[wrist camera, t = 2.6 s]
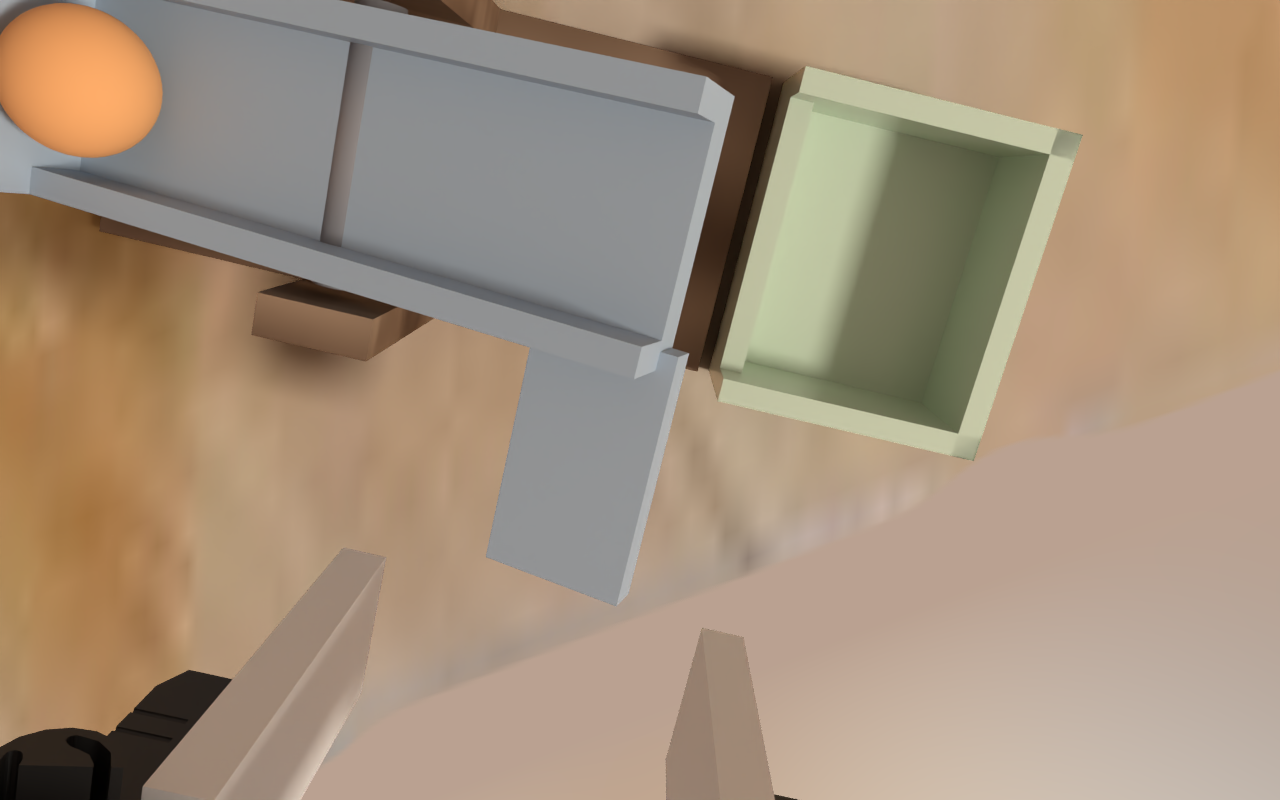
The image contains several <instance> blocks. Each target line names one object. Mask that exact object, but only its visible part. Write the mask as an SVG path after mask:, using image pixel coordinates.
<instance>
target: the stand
mask: <svg viewBox="0 0 1280 800" xmlns="http://www.w3.org/2000/svg"><path fill="white" fill-rule="evenodd" d="M341 1H346V2H350V3H354V0H341ZM383 1H386V2H389V3H393V4H396V5H398V6H401V7H404V8H406V9H408V15H413V16H418V17H423V18H427V19H432V20H437V21H442V22H447V23H451V24H456V25H461V26H466V27H471V28H475V29H480V30H485V31H490V32H495V33H499V34H504V35H509V36H514V37H519V38H523V39H528V40H533V41H538V42H543V43H547V44H552V45H557V46H562V47H567V48H571V49H576V50H581V51H586V52H591V53H596V54H600V55H605V56H610V57H615V58H620V59H624V60H629V61H634V62H639V63H644V64H648V65H653V66H658V67H663V68H668V69H672V70H677V71H682V72H687V73H692V74H696V75H701V76H706V77H708V78H709V79H711V80H712V81H714V82H715V83H716V84H718V85H719V86H721V87H722V88H723V89H725V90H726V91H728V92H729V93H731V94H732V95H733V96H735V97H734V101H733V105H732V109H731V113H730V117H729V121H728V126H727V130H726V134H725V138H724V142H723V146H722V150H721V154H720V158H719V162H718V166H717V170H716V174H715V178H714V182H713V186H712V190H711V194H710V198H709V202H708V206H707V210H706V214H705V218H704V222H703V226H702V230H701V234H700V239H699V243H698V247H697V251H696V255H695V259H694V263H693V267H692V271H691V275H690V279H689V283H688V287H687V291H686V295H685V299H684V303H683V307H682V311H681V315H680V319H679V323H678V327H677V331H676V335H675V339H674V343H673V347H672V348H673V349H677V350H680V351H683V352H687V353H689V356H688V360H687V364H686V368H685V369H689V370H693V371H698V367H699V363H700V360H701V356H702V352H703V348H704V344H705V340H706V336H707V332H708V328H709V324H710V320H711V317H712V313H713V309H714V305H715V301H716V297H717V293H718V289H719V285H720V281H721V277H722V273H723V270H724V266H725V262H726V258H727V254H728V250H729V246H730V242H731V238H732V234H733V230H734V227H735V223H736V219H737V215H738V211H739V207H740V203H741V199H742V195H743V191H744V187H745V184H746V180H747V176H748V172H749V168H750V164H751V160H752V156H753V152H754V148H755V144H756V141H757V137H758V133H759V129H760V125H761V121H762V117H763V113H764V109H765V105H766V101H767V98H768V94H769V90H770V86H771V82H772V78H773V77H770V76H766V75H762V74H758V73H754V72H750V71H746V70H742V69H738V68H734V67H730V66H726V65H722V64H718V63H714V62H710V61H706V60H702V59H698V58H694V57H690V56H686V55H682V54H678V53H674V52H670V51H666V50H662V49H658V48H654V47H650V46H646V45H642V44H638V43H634V42H629V41H625V40H621V39H617V38H613V37H609V36H605V35H601V34H597V33H593V32H589V31H585V30H581V29H577V28H573V27H569V26H565V25H561V24H557V23H553V22H549V21H545V20H541V19H537V18H533V17H529V16H525V15H521V14H517V13H513V12H509V11H505V10H501V9H500V8H499V7H498V6H497V5H496V4H495V3H494V2H493V1H492V0H383ZM99 231H101V232H105V233H110V234H114V235H118V236H122V237H127V238H131V239H135V240H140V241H144V242H148V243H152V244H157V245H161V246H165V247H169V248H174V249H178V250H182V251H186V252H191V253H195V254H199V255H203V256H208V257H212V258H216V259H220V260H225V261H229V262H233V263H237V264H242V265H246V266H250V267H255V268H259V269H263V270H267V271H272V272H276V273H280V274H284V275H289V276H293V277H297V278H301V279H302V280H299V281H295V282H292V283H288V284H285V285H281V286H278V287H274V288H271V289H267V290H264V291H260V292H257V299H256V306H255V313H254V320H253V328H252V335H255V336H259V337H263V338H268V339H272V340H276V341H280V342H285V343H289V344H293V345H298V346H302V347H306V348H311V349H315V350H319V351H324V352H328V353H332V354H337V355H341V356H345V357H349V358H354V359H358V360H362V361H367V360H369V359H370V358H372V357H374V356H375V355H377V354H378V353H380V352H381V351H383V350H385V349H386V348H388V347H389V346H391V345H393V344H394V343H396V342H397V341H399V340H400V339H402V338H404V337H405V336H407V335H408V334H410V333H411V332H413V331H415V330H416V329H418V328H419V327H421V326H422V325H424V324H426V323H427V322H429V321H430V320H432V319H433V318H432V317H429V316H426V315H423V314H419V313H416V312H413V311H410V310H406V309H403V308H400V307H396V306H393V305H390V304H387V303H383V302H380V301H377V300H374V299H370V298H367V297H364V296H361V295H357V294H354V293H351V292H348V291H343V290H337V289H332V288H327V287H323V286H320V285H317V284H315V283H313V282H312V280H308V279H305V278H302V277H299V276H295V275H292V274H289V273H285V272H282V271H279V270H276V269H272V268H269V267H266V266H263V265H259V264H256V263H253V262H250V261H246V260H243V259H240V258H237V257H233V256H230V255H227V254H223V253H220V252H217V251H214V250H210V249H207V248H204V247H201V246H197V245H194V244H191V243H188V242H184V241H181V240H178V239H174V238H171V237H168V236H165V235H161V234H158V233H155V232H152V231H148V230H145V229H142V228H139V227H135V226H132V225H129V224H126V223H122V222H119V221H116V220H112V219H109V218H106V217H103V216H101V220H100V230H99Z"/></svg>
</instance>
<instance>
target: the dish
mask: <svg viewBox="0 0 1280 800" xmlns="http://www.w3.org/2000/svg"><path fill="white" fill-rule="evenodd" d="M1082 136H1083V135H1081V134H1077V133H1073V132H1069V131H1065V130H1061V129H1057V128H1053V127H1049V126H1045V125H1041V124H1037V123H1033V122H1029V121H1025V120H1021V119H1017V118H1013V117H1009V116H1005V115H1001V114H997V113H993V112H989V111H985V110H981V109H977V108H973V107H969V106H965V105H961V104H957V103H953V102H949V101H945V100H940V99H936V98H932V97H928V96H924V95H920V94H916V93H912V92H908V91H904V90H900V89H896V88H892V87H888V86H884V85H880V84H876V83H872V82H868V81H864V80H860V79H856V78H852V77H848V76H844V75H840V74H836V73H832V72H828V71H824V70H820V69H816V68H812V67H808V66H805V67H804V68H802V69H801V70H800V71H798V72H797V73H796V74H794V75H793V76H792V77H790V78H789V79H788V80H786V81H785V82H784V83H783V86H782V90H781V93H780V97H779V101H778V105H777V109H776V113H775V117H774V121H773V124H772V128H771V132H770V136H769V140H768V144H767V148H766V151H765V155H764V159H763V163H762V167H761V171H760V175H759V179H758V182H757V186H756V190H755V194H754V198H753V202H752V206H751V209H750V213H749V217H748V221H747V225H746V229H745V233H744V237H743V240H742V244H741V248H740V252H739V256H738V260H737V264H736V267H735V271H734V275H733V279H732V283H731V287H730V291H729V295H728V298H727V302H726V306H725V310H724V314H723V318H722V322H721V325H720V329H719V333H718V337H717V341H716V345H715V349H714V353H713V356H712V360H711V364H710V368H709V372H710V376H711V379H712V383H713V386H714V390H715V393H716V397H717V400H718V401H719V402H723V403H728V404H732V405H736V406H741V407H745V408H749V409H753V410H758V411H762V412H766V413H770V414H775V415H779V416H783V417H788V418H792V419H796V420H800V421H805V422H809V423H813V424H818V425H822V426H826V427H830V428H835V429H839V430H843V431H847V432H852V433H856V434H860V435H865V436H869V437H873V438H877V439H882V440H886V441H890V442H895V443H899V444H903V445H907V446H912V447H916V448H920V449H924V450H929V451H933V452H937V453H942V454H946V455H950V456H954V457H959V458H963V459H967V460H972V461H974V458H975V455H976V452H977V449H978V446H979V443H980V440H981V437H982V434H983V431H984V428H985V426H986V423H987V420H988V417H989V414H990V411H991V408H992V405H993V402H994V399H995V396H996V393H997V390H998V387H999V384H1000V381H1001V378H1002V375H1003V372H1004V369H1005V366H1006V363H1007V360H1008V357H1009V354H1010V351H1011V348H1012V345H1013V342H1014V339H1015V336H1016V333H1017V330H1018V327H1019V324H1020V321H1021V318H1022V315H1023V312H1024V309H1025V306H1026V303H1027V300H1028V297H1029V294H1030V291H1031V288H1032V285H1033V282H1034V279H1035V276H1036V273H1037V270H1038V267H1039V264H1040V261H1041V258H1042V255H1043V252H1044V249H1045V246H1046V243H1047V240H1048V237H1049V234H1050V231H1051V228H1052V225H1053V222H1054V219H1055V216H1056V213H1057V210H1058V207H1059V204H1060V201H1061V198H1062V195H1063V192H1064V189H1065V186H1066V183H1067V180H1068V177H1069V174H1070V171H1071V168H1072V165H1073V162H1074V159H1075V156H1076V153H1077V150H1078V147H1079V144H1080V141H1081V138H1082Z"/></svg>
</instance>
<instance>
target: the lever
mask: <svg viewBox="0 0 1280 800" xmlns="http://www.w3.org/2000/svg"><path fill="white" fill-rule="evenodd" d="M53 3H73V4H79V5H85V6H89V7H92V8H95V9H98V10H100V11H103V12H105V13H107V14H109V15H111V16H113V17H115V18H116V19H118V20H119V21H121V22H122V23H124V24H125V25H126V26H128V27H129V28H130V29H131V30H132V31H133V32H134V33H136V34H137V35H138V37H139V38H140V39H141V40H142V41H143V42H144V44H145V45H146V46H147V48H148V49H149V51H150V52H151V54H152V56H153V58H154V60H155V62H156V65H157V67H158V70H159V73H160V76H161V81H162V90H163V96H162V105H161V110H160V113H159V116H158V118H157V121H156V122H155V124H154V126H153V127H152V129H151V131H150V132H149V133H148V134H147V136H146V137H144V138H143V139H142V140H141V141H140V142H139V143H137V144H136V145H135V146H133V147H132V148H130V149H128V150H125V151H123V152H121V153H118V154H115V155H111V156H106V157H99V158H84V157H77V156H71V155H66V154H63V153H60V152H57V151H54V150H52V149H50V148H48V147H46V146H44V145H42V144H40V143H38V142H36V141H35V140H34V139H32V138H31V137H29V136H28V135H27V134H26V133H24V132H23V131H22V130H21V129H20V128H19V127H18V126H17V125H16V124H15V123H14V122H13V121H12V119H11V118H10V117H9V116H8V114H7V113H6V111H5V110H4V108H3V107H2V105H1V103H0V192H5V193H21V194H31V195H34V196H37V197H41V198H44V199H47V200H50V201H54V202H57V203H60V204H63V205H67V206H70V207H73V208H77V209H80V210H83V211H86V212H90V213H93V214H96V215H99V216H103V217H106V218H109V219H112V220H116V221H119V222H122V223H126V224H129V225H132V226H135V227H139V228H142V229H145V230H148V231H152V232H155V233H158V234H161V235H165V236H168V237H171V238H174V239H178V240H181V241H184V242H188V243H191V244H194V245H197V246H201V247H204V248H207V249H210V250H214V251H217V252H220V253H223V254H227V255H230V256H233V257H237V258H240V259H243V260H246V261H250V262H253V263H256V264H259V265H263V266H266V267H269V268H272V269H276V270H279V271H282V272H285V273H289V274H292V275H295V276H299V277H302V278H305V279H308V280H312V282H313V283H315V284H317V285H320V286H323V287H327V288H332V289H337V290H343V291H348V292H351V293H354V294H357V295H361V296H364V297H367V298H370V299H374V300H377V301H380V302H383V303H387V304H390V305H393V306H396V307H400V308H403V309H406V310H410V311H413V312H416V313H419V314H423V315H426V316H429V317H432V318H436V319H439V320H442V321H445V322H449V323H452V324H455V325H459V326H462V327H465V328H468V329H472V330H475V331H478V332H481V333H485V334H488V335H491V336H494V337H498V338H501V339H504V340H507V341H511V342H514V343H517V344H521V345H524V346H527V347H530V350H529V355H528V360H527V364H526V369H525V374H524V379H523V383H522V388H521V393H520V398H519V402H518V407H517V412H516V416H515V421H514V426H513V431H512V435H511V440H510V445H509V450H508V454H507V459H506V464H505V469H504V473H503V478H502V483H501V487H500V492H499V497H498V502H497V506H496V511H495V516H494V521H493V525H492V530H491V535H490V540H489V544H488V549H487V554H486V557H487V558H490V559H492V560H495V561H498V562H500V563H503V564H506V565H508V566H511V567H514V568H516V569H519V570H522V571H524V572H527V573H529V574H532V575H535V576H537V577H540V578H543V579H545V580H548V581H551V582H553V583H556V584H558V585H561V586H564V587H566V588H569V589H572V590H574V591H577V592H580V593H582V594H585V595H588V596H590V597H593V598H595V599H598V600H601V601H603V602H606V603H609V604H611V605H614V606H617V605H618V604H619V603H620V602H621V601H622V600H623V599H624V598H625V597H626V596H627V595H628V593H629V590H630V586H631V582H632V578H633V574H634V570H635V566H636V562H637V558H638V554H639V550H640V546H641V542H642V538H643V534H644V530H645V526H646V522H647V518H648V514H649V510H650V506H651V502H652V498H653V494H654V490H655V486H656V483H657V479H658V475H659V471H660V467H661V463H662V459H663V455H664V451H665V447H666V443H667V439H668V435H669V431H670V427H671V423H672V419H673V415H674V411H675V407H676V403H677V399H678V395H679V391H680V387H681V383H682V380H683V376H684V372H685V368H686V364H687V360H688V356H689V353H687V352H683V351H680V350H677V349H673V348H672V347H673V343H674V339H675V335H676V331H677V327H678V323H679V319H680V315H681V311H682V307H683V303H684V299H685V295H686V291H687V287H688V283H689V279H690V275H691V271H692V267H693V263H694V259H695V255H696V251H697V247H698V243H699V239H700V234H701V230H702V226H703V222H704V218H705V214H706V210H707V206H708V202H709V198H710V194H711V190H712V186H713V182H714V178H715V174H716V170H717V166H718V162H719V158H720V154H721V150H722V146H723V142H724V138H725V134H726V130H727V126H728V121H729V117H730V113H731V109H732V105H733V101H734V97H735V96H733V95H732V94H731V93H729V92H728V91H726V90H725V89H723V88H722V87H721V86H719V85H718V84H716V83H715V82H714V81H712V80H711V79H709V78H708V77H706V76H701V75H696V74H692V73H687V72H682V71H677V70H672V69H668V68H663V67H658V66H653V65H648V64H644V63H639V62H634V61H629V60H624V59H620V58H615V57H610V56H605V55H600V54H596V53H591V52H586V51H581V50H576V49H571V48H567V47H562V46H557V45H552V44H547V43H543V42H538V41H533V40H528V39H523V38H519V37H514V36H509V35H504V34H499V33H495V32H490V31H485V30H480V29H475V28H471V27H466V26H461V25H456V24H451V23H447V22H442V21H437V20H432V19H427V18H423V17H418V16H413V15H408V9H406V8H404V7H401V6H398V5H396V4H393V3H389V2H386V1H383V0H354V3H350V2H346V1H341V0H0V35H1V33H2V32H3V30H4V29H5V28H6V26H7V25H8V24H9V23H10V22H11V21H13V20H14V19H15V18H16V17H18V16H19V15H20V14H22V13H24V12H26V11H28V10H30V9H32V8H35V7H38V6H42V5H47V4H53Z"/></svg>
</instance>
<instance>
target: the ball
mask: <svg viewBox="0 0 1280 800" xmlns="http://www.w3.org/2000/svg"><path fill="white" fill-rule="evenodd" d="M162 96H163V90H162V81H161V76H160V73H159V70H158V67H157V65H156V62H155V60H154V58H153V56H152V54H151V52H150V51H149V49H148V48H147V46H146V45H145V44H144V42H143V41H142V40H141V39H140V38H139V37H138V35H137V34H136V33H134V32H133V31H132V30H131V29H130V28H129V27H128V26H126V25H125V24H124V23H122V22H121V21H119V20H118V19H116V18H115V17H113V16H111V15H109V14H107V13H105V12H103V11H100V10H98V9H95V8H92V7H89V6H85V5H79V4H73V3H53V4H47V5H42V6H38V7H35V8H32V9H30V10H28V11H26V12H24V13H22V14H20V15H19V16H18V17H16V18H15V19H14V20H13V21H11V22H10V23H9V24H8V25H7V26H6V28H5V29H4V30H3V32H2V33H1V35H0V103H1V105H2V107H3V108H4V110H5V111H6V113H7V114H8V116H9V117H10V118H11V119H12V121H13V122H14V123H15V124H16V125H17V126H18V127H19V128H20V129H21V130H22V131H23V132H24V133H26V134H27V135H28V136H29V137H31V138H32V139H34V140H35V141H36V142H38V143H40V144H42V145H44V146H46V147H48V148H50V149H52V150H54V151H57V152H60V153H63V154H66V155H71V156H77V157H84V158H99V157H106V156H111V155H115V154H118V153H121V152H123V151H125V150H128V149H130V148H132V147H133V146H135V145H136V144H137V143H139V142H140V141H141V140H142V139H143V138H144V137H146V136H147V134H148V133H149V132H150V131H151V129H152V127H153V126H154V124H155V122H156V121H157V118H158V116H159V113H160V110H161V105H162Z"/></svg>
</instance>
